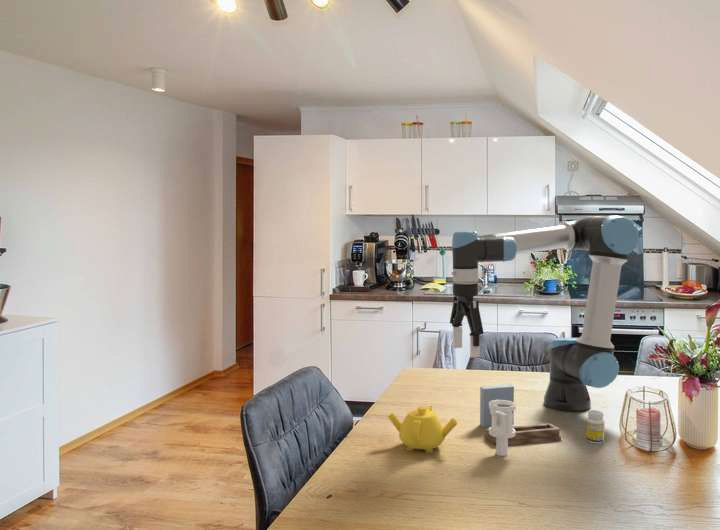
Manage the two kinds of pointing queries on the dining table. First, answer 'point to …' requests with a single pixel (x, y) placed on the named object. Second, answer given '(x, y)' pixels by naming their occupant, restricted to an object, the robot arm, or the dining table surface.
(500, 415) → the strainer
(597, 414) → the supplement bottle
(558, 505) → the dining table surface
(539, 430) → the track
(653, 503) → the dining table surface
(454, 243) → the robot arm
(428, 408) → the teapot
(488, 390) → the door panel
